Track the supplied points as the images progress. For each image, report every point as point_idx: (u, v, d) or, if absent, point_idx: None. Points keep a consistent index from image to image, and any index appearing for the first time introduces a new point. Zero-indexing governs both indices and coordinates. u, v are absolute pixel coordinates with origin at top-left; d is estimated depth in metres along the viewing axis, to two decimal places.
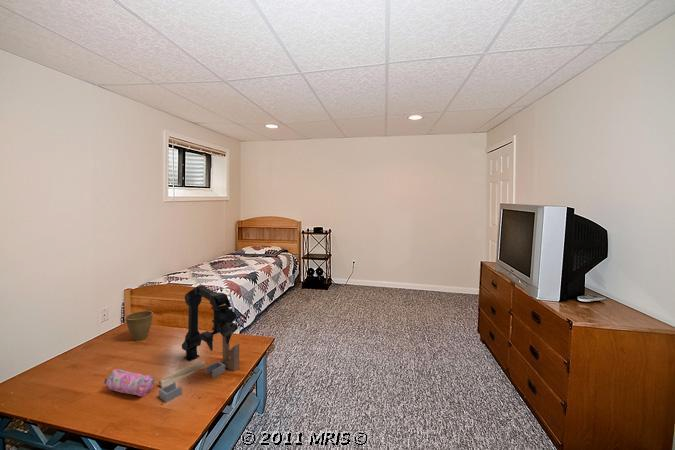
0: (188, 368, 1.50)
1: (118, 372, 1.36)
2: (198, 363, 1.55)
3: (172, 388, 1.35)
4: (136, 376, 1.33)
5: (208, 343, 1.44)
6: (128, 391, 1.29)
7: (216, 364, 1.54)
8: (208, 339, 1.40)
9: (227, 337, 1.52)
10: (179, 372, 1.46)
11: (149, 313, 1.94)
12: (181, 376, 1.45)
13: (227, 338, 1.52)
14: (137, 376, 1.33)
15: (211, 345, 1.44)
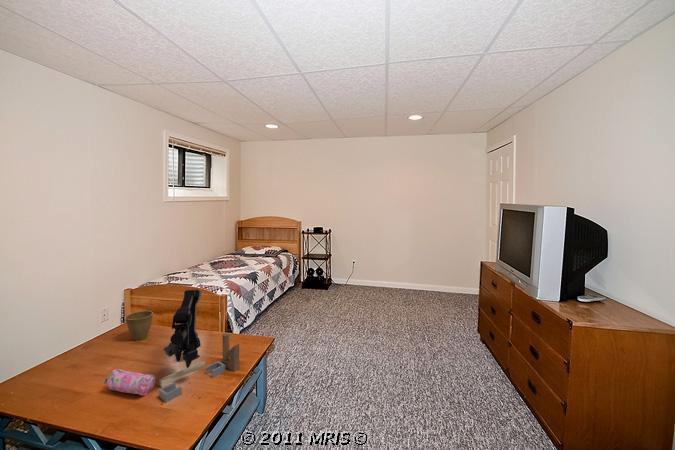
0: (188, 368, 1.50)
1: (118, 372, 1.36)
2: (198, 363, 1.54)
3: (172, 388, 1.35)
4: (137, 375, 1.34)
5: None
6: (129, 390, 1.30)
7: (216, 364, 1.54)
8: None
9: None
10: (179, 372, 1.46)
11: (149, 313, 1.94)
12: (181, 376, 1.45)
13: None
14: (138, 375, 1.34)
15: (175, 356, 1.49)
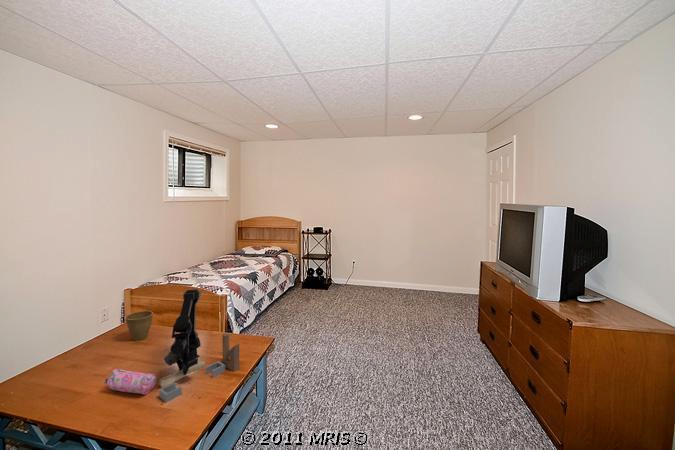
0: None
1: (119, 372, 1.36)
2: (198, 363, 1.54)
3: (172, 388, 1.35)
4: (138, 375, 1.34)
5: (181, 363, 1.50)
6: (131, 390, 1.30)
7: (216, 364, 1.54)
8: None
9: None
10: (179, 372, 1.46)
11: (149, 313, 1.94)
12: (181, 376, 1.45)
13: None
14: (139, 375, 1.34)
15: (178, 366, 1.48)
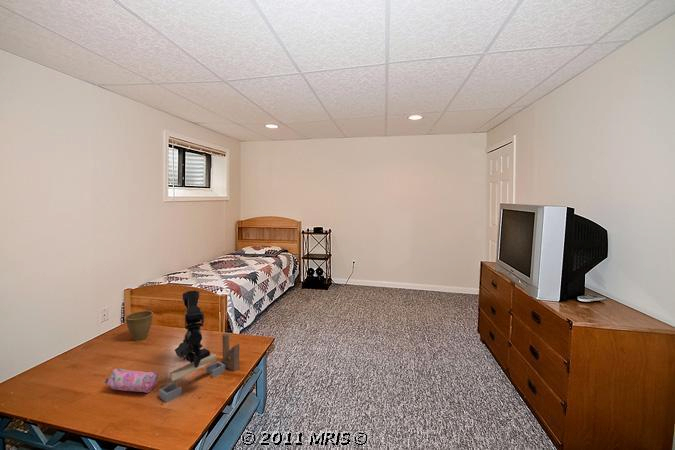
0: None
1: (119, 371, 1.37)
2: (209, 356, 1.48)
3: (172, 388, 1.35)
4: (140, 373, 1.35)
5: (192, 356, 1.43)
6: (133, 388, 1.31)
7: (216, 364, 1.54)
8: None
9: None
10: (190, 364, 1.39)
11: (149, 313, 1.94)
12: (192, 369, 1.39)
13: None
14: (141, 373, 1.35)
15: (189, 359, 1.41)
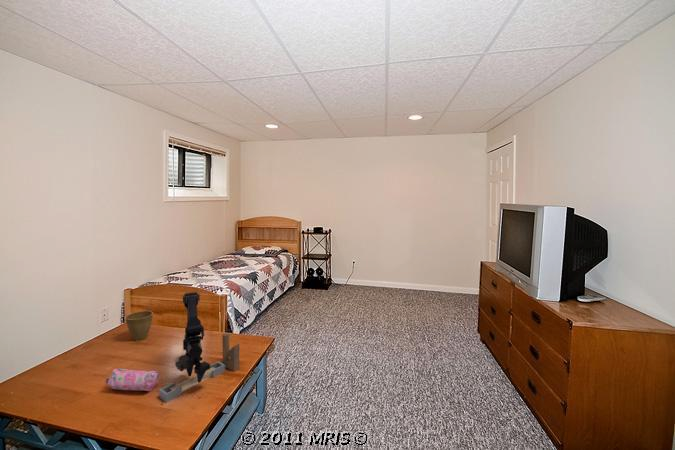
0: None
1: (119, 371, 1.37)
2: (209, 370, 1.48)
3: None
4: (141, 373, 1.36)
5: None
6: (135, 387, 1.32)
7: (216, 364, 1.54)
8: None
9: None
10: (190, 380, 1.40)
11: (149, 313, 1.94)
12: (192, 384, 1.39)
13: None
14: (142, 372, 1.36)
15: None
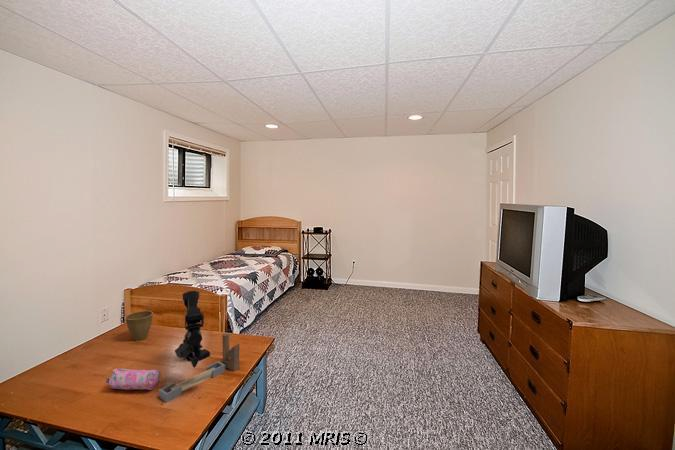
0: (200, 375, 1.43)
1: (120, 371, 1.37)
2: (210, 370, 1.48)
3: None
4: (142, 372, 1.37)
5: None
6: (136, 386, 1.33)
7: (216, 364, 1.54)
8: None
9: None
10: (190, 380, 1.40)
11: (149, 313, 1.94)
12: (192, 384, 1.39)
13: None
14: (143, 371, 1.37)
15: (191, 361, 1.40)
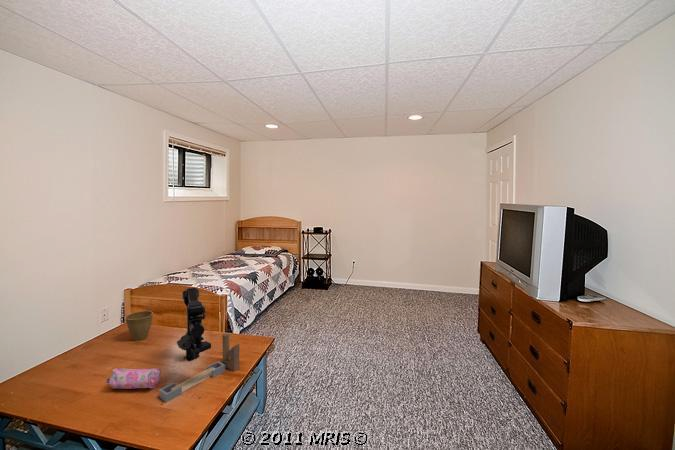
0: (199, 375, 1.44)
1: (120, 370, 1.37)
2: (209, 370, 1.49)
3: None
4: (143, 371, 1.38)
5: None
6: (138, 385, 1.34)
7: (216, 364, 1.54)
8: None
9: None
10: (191, 380, 1.40)
11: (149, 313, 1.94)
12: (193, 384, 1.39)
13: None
14: (144, 370, 1.38)
15: (192, 352, 1.44)
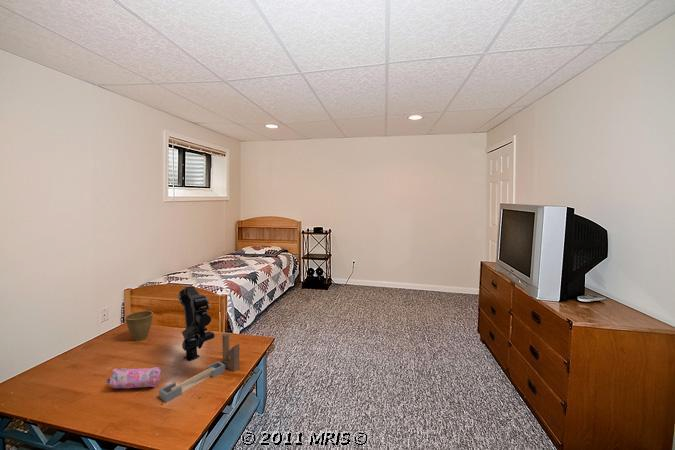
0: (199, 375, 1.44)
1: (120, 370, 1.37)
2: (209, 369, 1.49)
3: None
4: (144, 370, 1.38)
5: None
6: (140, 384, 1.34)
7: (216, 364, 1.54)
8: None
9: None
10: (190, 380, 1.40)
11: (149, 313, 1.94)
12: (193, 384, 1.39)
13: None
14: (145, 370, 1.38)
15: (196, 342, 1.52)
